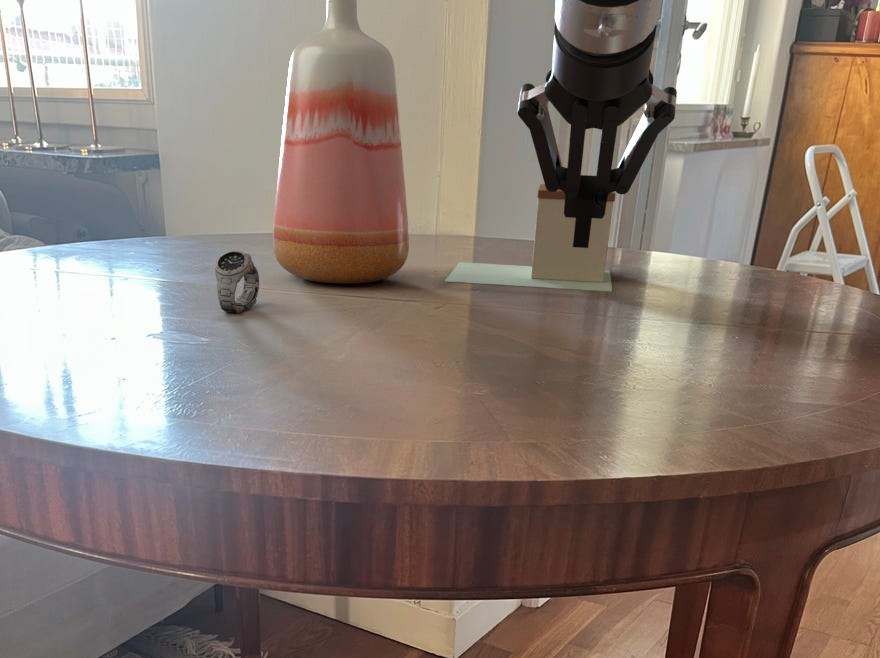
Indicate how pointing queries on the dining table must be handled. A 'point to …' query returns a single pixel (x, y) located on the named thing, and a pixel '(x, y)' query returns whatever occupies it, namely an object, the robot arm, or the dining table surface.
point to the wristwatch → (236, 281)
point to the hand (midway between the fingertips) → (581, 235)
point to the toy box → (568, 242)
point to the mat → (518, 277)
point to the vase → (341, 159)
